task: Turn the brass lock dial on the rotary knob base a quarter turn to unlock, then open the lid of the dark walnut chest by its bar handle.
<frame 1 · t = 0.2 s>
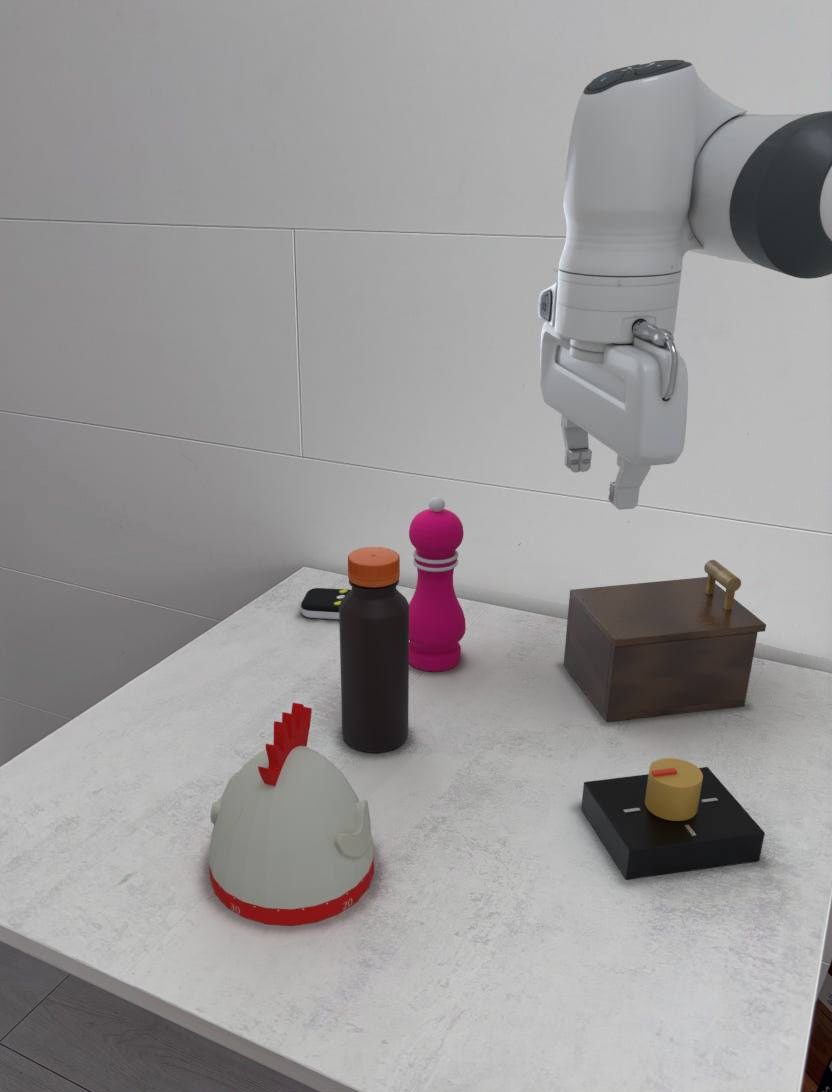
hand: (598, 487, 83), 30 cm above the table, tool pointing down, fingers open, 8 cm apart
pepper mill: (433, 660, 120), on the table
rotary knob base: (666, 834, 90), on the table
chest lid: (666, 593, 109), point 11 cm above the table, hinge at 0.0°
lock dial: (673, 787, 88), point 5 cm above the table, hinge at 0.0°
remote control: (352, 612, 132), on the table
kitchen timer: (292, 869, 87), on the table
bottle: (375, 737, 106), on the table
chest: (650, 685, 114), on the table
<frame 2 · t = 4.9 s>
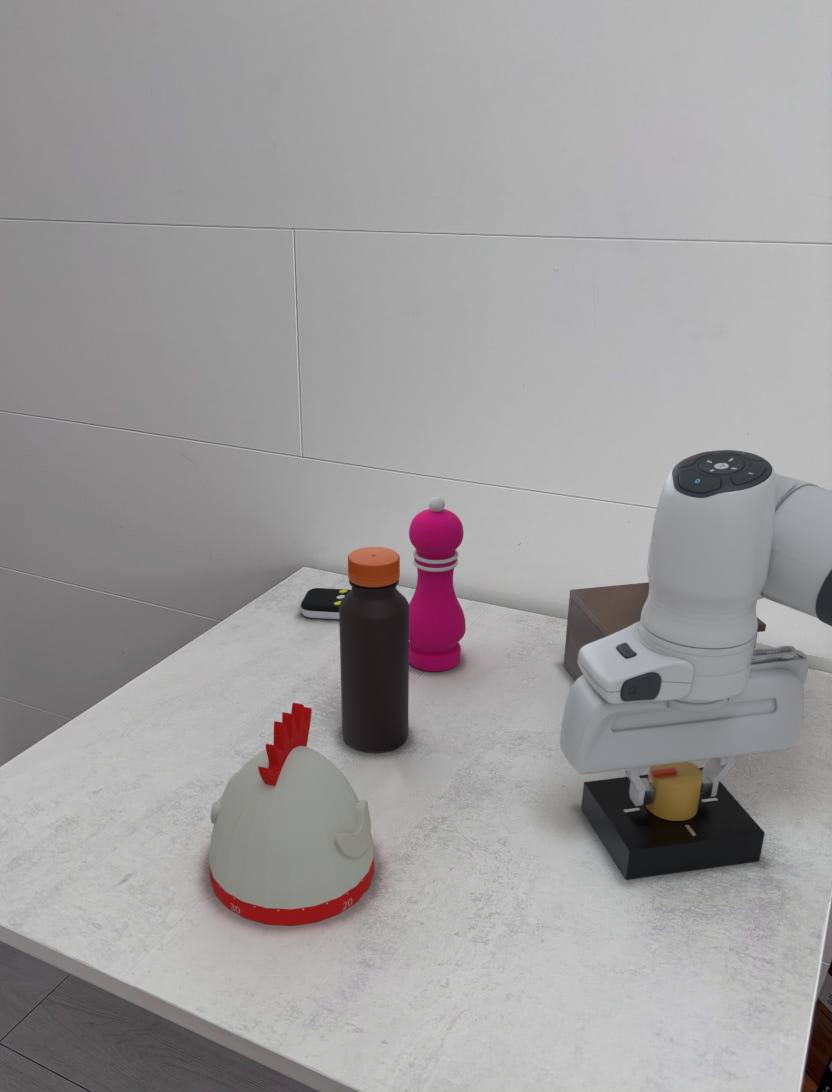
hand: (671, 797, 88), 4 cm above the table, tool pointing down, fingers closed on lock dial, 4 cm apart
lock dial: (673, 787, 88), point 5 cm above the table, hinge at 0.0°, touching gripper
everything else where it was.
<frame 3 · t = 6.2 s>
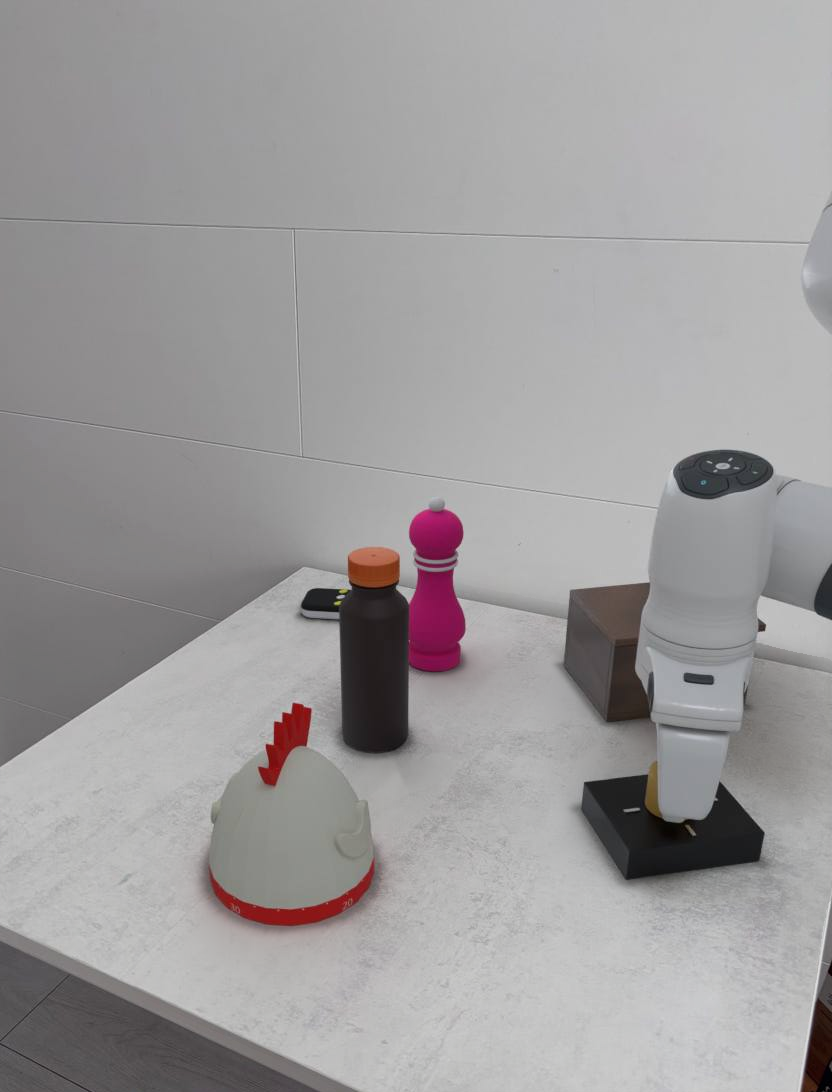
hand: (671, 797, 88), 4 cm above the table, tool pointing down, fingers closed on lock dial, 4 cm apart
lock dial: (673, 787, 88), point 5 cm above the table, hinge at 65.7°, touching gripper
everything else where it was.
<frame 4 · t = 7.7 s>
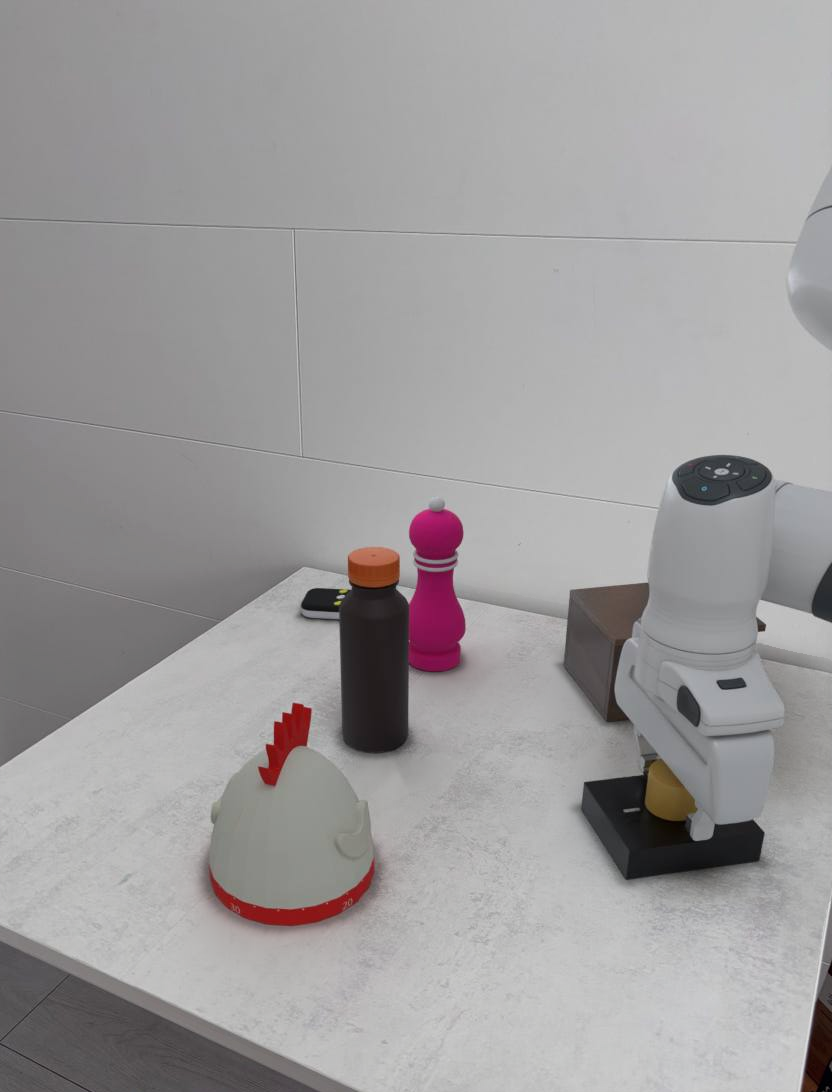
hand: (672, 801, 89), 3 cm above the table, tool pointing down, fingers open, 8 cm apart
lock dial: (673, 787, 88), point 5 cm above the table, hinge at 92.1°
everything else where it was.
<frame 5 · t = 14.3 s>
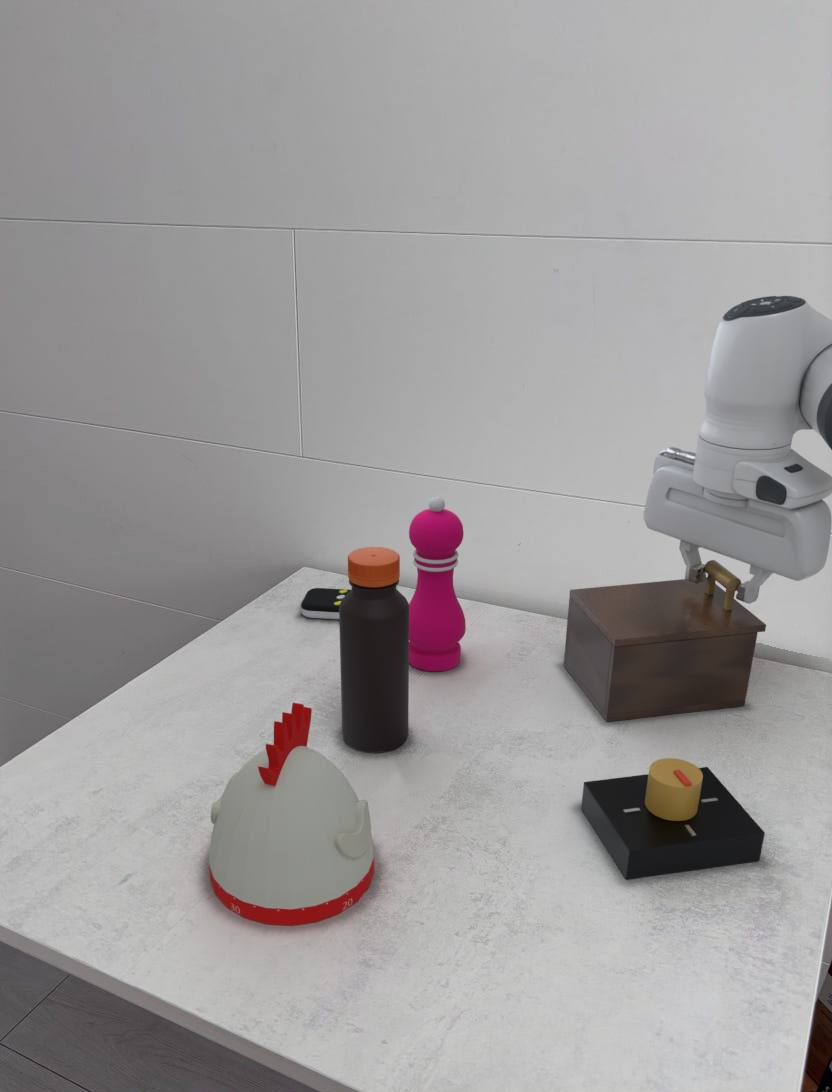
hand: (720, 590, 110), 11 cm above the table, tool pointing down, fingers closed on chest lid, 5 cm apart
chest lid: (666, 593, 109), point 11 cm above the table, hinge at -0.1°, touching gripper
everything else where it was.
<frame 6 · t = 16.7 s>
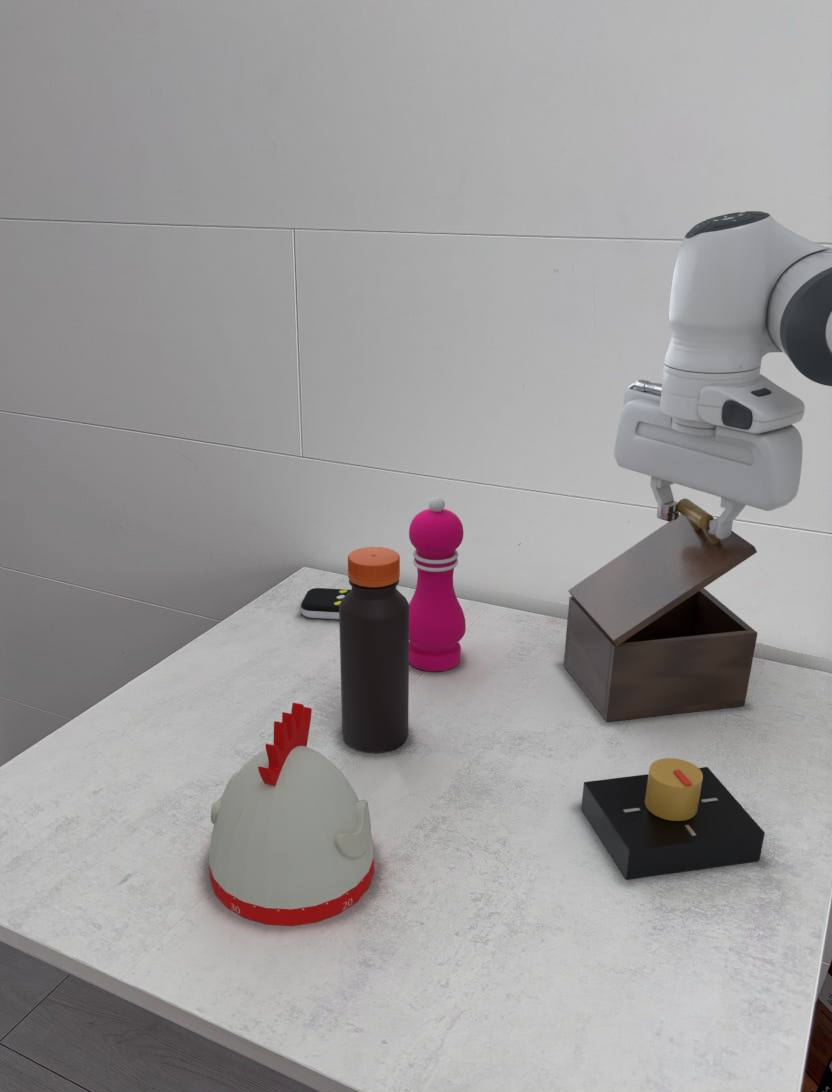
hand: (693, 527, 106), 18 cm above the table, tool pointing down, fingers closed on chest lid, 5 cm apart
chest lid: (649, 559, 106), point 15 cm above the table, hinge at 33.1°, touching gripper
everything else where it was.
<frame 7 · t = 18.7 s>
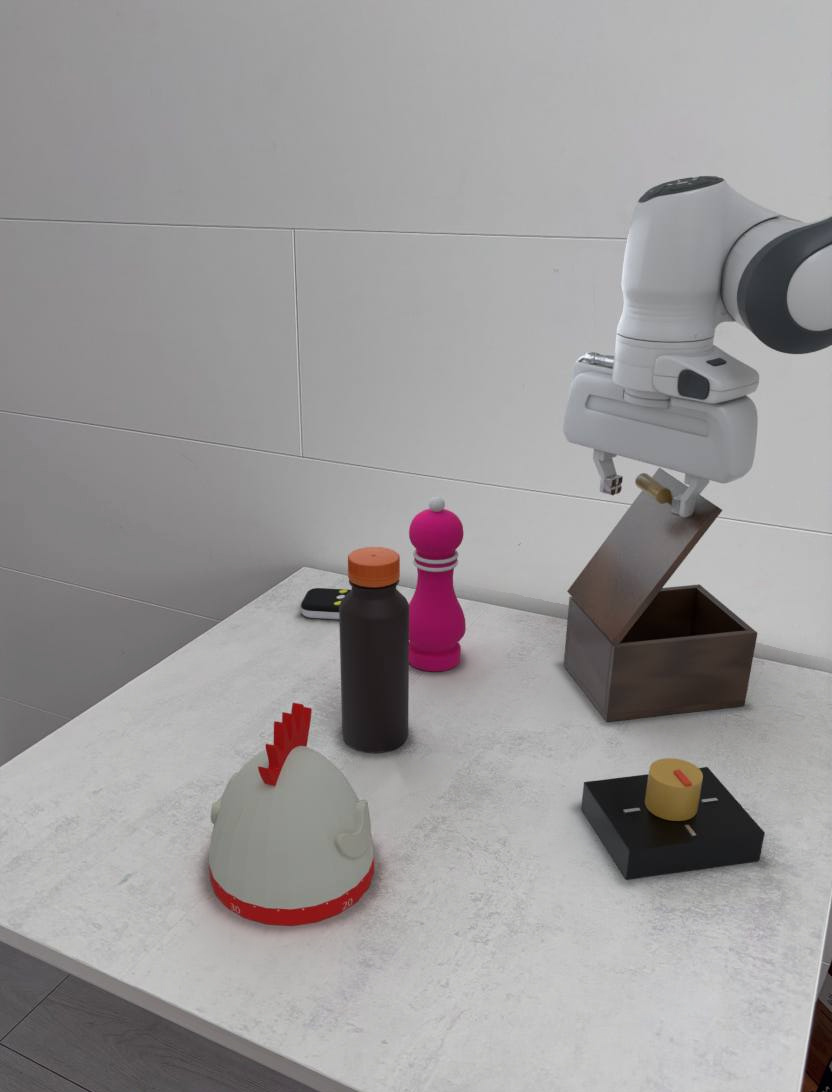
hand: (645, 503, 103), 22 cm above the table, tool pointing down, fingers open, 7 cm apart
chest lid: (625, 545, 105), point 17 cm above the table, hinge at 55.8°, touching gripper
everything else where it was.
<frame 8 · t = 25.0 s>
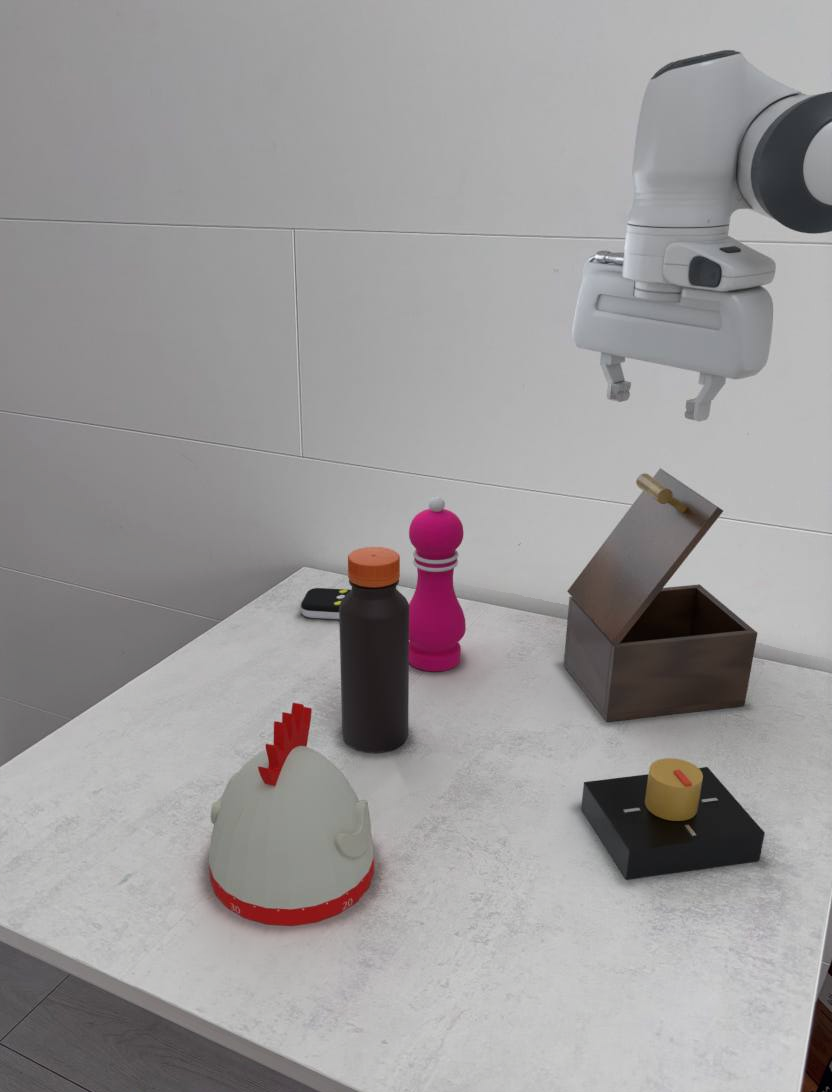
hand: (655, 409, 99), 31 cm above the table, tool pointing down, fingers open, 8 cm apart
chest lid: (626, 545, 105), point 17 cm above the table, hinge at 55.3°
everything else where it was.
at the end: lock dial at +92° (first picture: +0°); chest lid at +55° (first picture: +0°) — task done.
